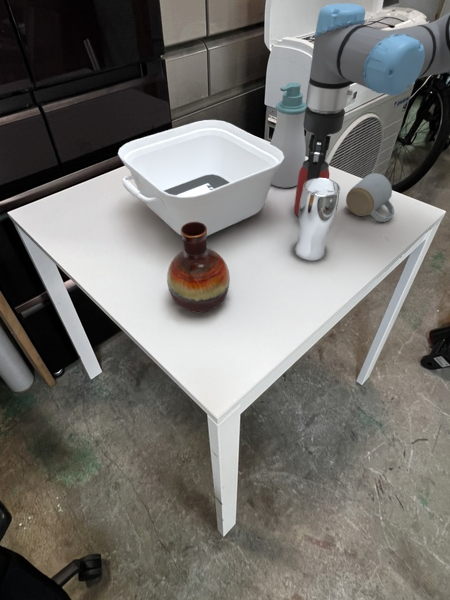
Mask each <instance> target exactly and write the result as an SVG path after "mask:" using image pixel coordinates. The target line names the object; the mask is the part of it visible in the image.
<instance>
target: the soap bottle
mask: <svg viewBox="0 0 450 600" xmlns="http://www.w3.org/2000/svg"><path fill="white" fill-rule="evenodd" d="M301 87H302V86H301V83H299V82H289V83H287V84H286V85H285V86H282V87H280V88H279V89H280V91H281V92H283V94H282V100H281V101H279V102H276V104H275V109H276V119H275V127H274V129H273V134H272V137H271V139H270V140H271V141H270V143H269V144H271V145H273V146H275V147H276V148H278V149H279V150H280V151H282V152H283V155H284V160H283V162H282V163H281V165H280V167H279V169H278V171H277V172H275V174H274V177H273V180H272V183H271V186H274V187H277V188H284V189H287V188H294V187H297V184H298V176H299V171H300V169H301V167H302V166H303V162H304V161H306V153H307V146H306V137H305V128H304V126H303V124H304V116H305V109H306V107H307V105H306V102H304V101H303V98H304V95H303V93H302V92H301Z"/></svg>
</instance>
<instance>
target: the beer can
mask: <svg viewBox="0 0 450 600" xmlns="http://www.w3.org/2000/svg"><path fill="white" fill-rule="evenodd" d="M308 167H309V162H308V159H305V161H304V162H303V166H302V167H301V169H300V171H299V176H298V184H297V185H296V191H295V192H296V193H295V198H294V205H293V206H294V207H293V209H294V210H293V211H294V214H295V215H297V217H299V204H300V199H301V192H302V190H303V185H304V183H305V182H306V180H307V173H308ZM319 178H327V179H330V165H329V162H327V161H326V160H325V162H324V164H322V165H321V171H320V176H319Z"/></svg>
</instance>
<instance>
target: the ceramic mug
mask: <svg viewBox="0 0 450 600" xmlns="http://www.w3.org/2000/svg"><path fill="white" fill-rule="evenodd" d="M392 187H393V186H392V184H391V182H390V180H389V179H388V178H387V177H386V176H384V175H383V174H381V173H376V172H373V173H369V174H367V175H365V176H364V178H362V179H361V180H359V182H358V183H356V184H355V185H354V186H352V187H351V188H350V190H349V191H348V192H347V195H346V198H345V203H346V206H347V208H348V210H349V211H350V212H351V213H352V214H354V215H356V216H359V217H366V216H368V215H370V216H371V217H372V218H373V219H375V220H376V221H378V222H380V223H385V222H388V221H389V220H391V219H392V218H393V217H394V215H395V208H394V205H393V204H392V202H391V200H390V199H391V197H392V195H393V188H392ZM382 206H384V207H386V210H387V211H388V214H389V216H382V215H381V214H379V213H378V212H377V210H378V209H379V208H381V207H382Z"/></svg>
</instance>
